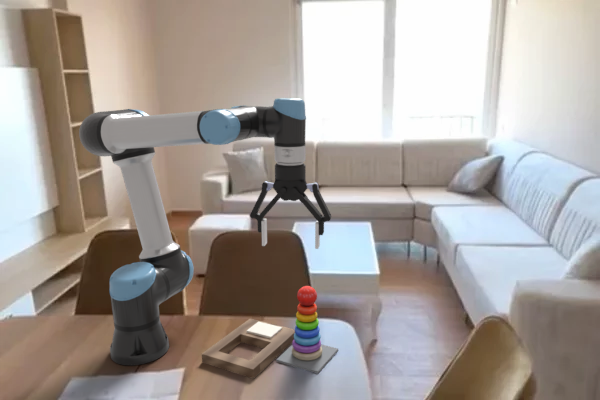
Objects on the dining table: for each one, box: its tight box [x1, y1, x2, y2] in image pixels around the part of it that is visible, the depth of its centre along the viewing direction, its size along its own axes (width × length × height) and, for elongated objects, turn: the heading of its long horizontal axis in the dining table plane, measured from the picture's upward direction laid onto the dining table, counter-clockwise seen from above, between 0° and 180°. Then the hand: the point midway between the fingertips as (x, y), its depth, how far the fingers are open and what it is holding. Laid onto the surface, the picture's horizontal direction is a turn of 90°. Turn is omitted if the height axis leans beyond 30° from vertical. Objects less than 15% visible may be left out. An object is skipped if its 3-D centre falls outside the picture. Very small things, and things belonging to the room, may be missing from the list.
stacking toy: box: [291, 285, 322, 361], centre depth 127 cm, size 8×8×19 cm
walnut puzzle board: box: [201, 318, 295, 379], centre depth 133 cm, size 16×22×3 cm
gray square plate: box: [275, 343, 339, 374], centre depth 130 cm, size 12×12×1 cm
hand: (290, 245), depth 125 cm, fingers open, 13 cm apart
